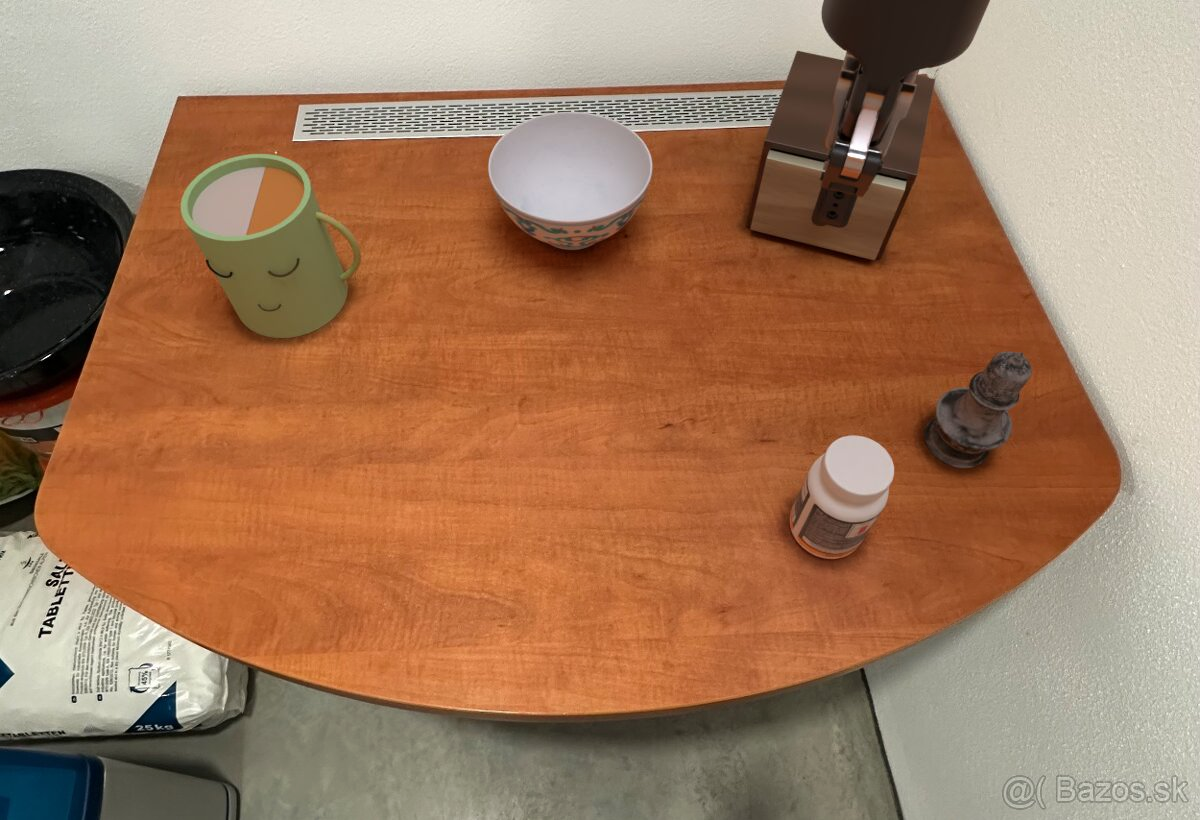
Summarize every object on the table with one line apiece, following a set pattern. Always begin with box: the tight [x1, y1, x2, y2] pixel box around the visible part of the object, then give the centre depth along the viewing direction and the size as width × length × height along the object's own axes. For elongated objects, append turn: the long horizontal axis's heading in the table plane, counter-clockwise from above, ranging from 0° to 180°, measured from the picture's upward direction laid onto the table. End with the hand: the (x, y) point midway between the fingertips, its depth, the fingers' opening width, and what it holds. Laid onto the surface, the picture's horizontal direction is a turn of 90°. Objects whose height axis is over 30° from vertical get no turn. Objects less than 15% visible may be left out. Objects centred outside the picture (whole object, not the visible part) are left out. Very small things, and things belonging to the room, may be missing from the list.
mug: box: [180, 153, 362, 339], centre depth 69 cm, size 13×10×12 cm
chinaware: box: [487, 111, 653, 251], centre depth 76 cm, size 15×15×8 cm
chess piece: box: [923, 351, 1033, 469], centre depth 61 cm, size 6×6×12 cm
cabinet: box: [745, 50, 936, 260], centre depth 78 cm, size 14×13×10 cm
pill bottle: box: [789, 434, 895, 560], centre depth 58 cm, size 6×6×10 cm
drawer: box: [749, 150, 906, 261], centre depth 77 cm, size 15×12×9 cm
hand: (830, 217), depth 51 cm, fingers closed
